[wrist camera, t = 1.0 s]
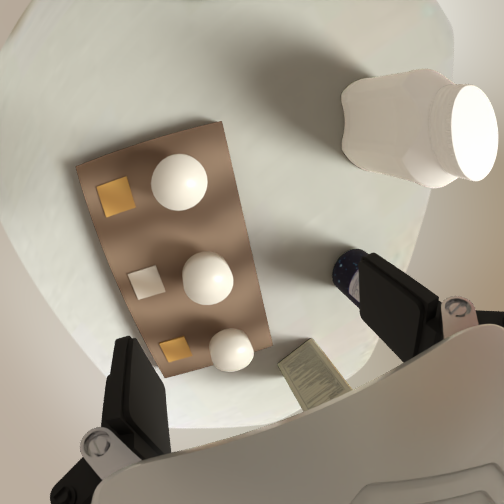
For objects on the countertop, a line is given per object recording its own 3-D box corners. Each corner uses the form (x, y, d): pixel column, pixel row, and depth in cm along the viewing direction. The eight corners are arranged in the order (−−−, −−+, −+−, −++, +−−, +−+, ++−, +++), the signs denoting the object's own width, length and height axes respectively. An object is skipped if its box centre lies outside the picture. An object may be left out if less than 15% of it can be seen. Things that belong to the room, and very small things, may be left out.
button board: (81, 164, 25) (74, 166, 23) (218, 122, 27) (222, 120, 25) (164, 367, 35) (164, 379, 33) (268, 336, 38) (273, 346, 36)
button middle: (176, 259, 27) (176, 268, 25) (222, 245, 27) (226, 253, 25) (190, 299, 28) (192, 310, 27) (233, 286, 29) (238, 296, 27)
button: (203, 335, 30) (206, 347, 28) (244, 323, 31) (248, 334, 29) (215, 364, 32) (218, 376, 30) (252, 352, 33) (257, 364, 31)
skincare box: (291, 376, 42) (324, 438, 31) (275, 363, 40) (309, 429, 29) (325, 350, 42) (368, 408, 30) (313, 335, 40) (357, 396, 29)
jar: (339, 72, 28) (440, 50, 14) (402, 86, 30) (499, 82, 16) (340, 171, 32) (440, 201, 19) (401, 172, 34) (496, 200, 21)
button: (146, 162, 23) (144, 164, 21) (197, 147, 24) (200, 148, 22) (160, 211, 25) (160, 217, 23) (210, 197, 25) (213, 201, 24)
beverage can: (329, 292, 38) (382, 346, 27) (328, 251, 35) (389, 299, 25) (365, 280, 39) (422, 327, 28) (366, 241, 36) (431, 282, 26)
